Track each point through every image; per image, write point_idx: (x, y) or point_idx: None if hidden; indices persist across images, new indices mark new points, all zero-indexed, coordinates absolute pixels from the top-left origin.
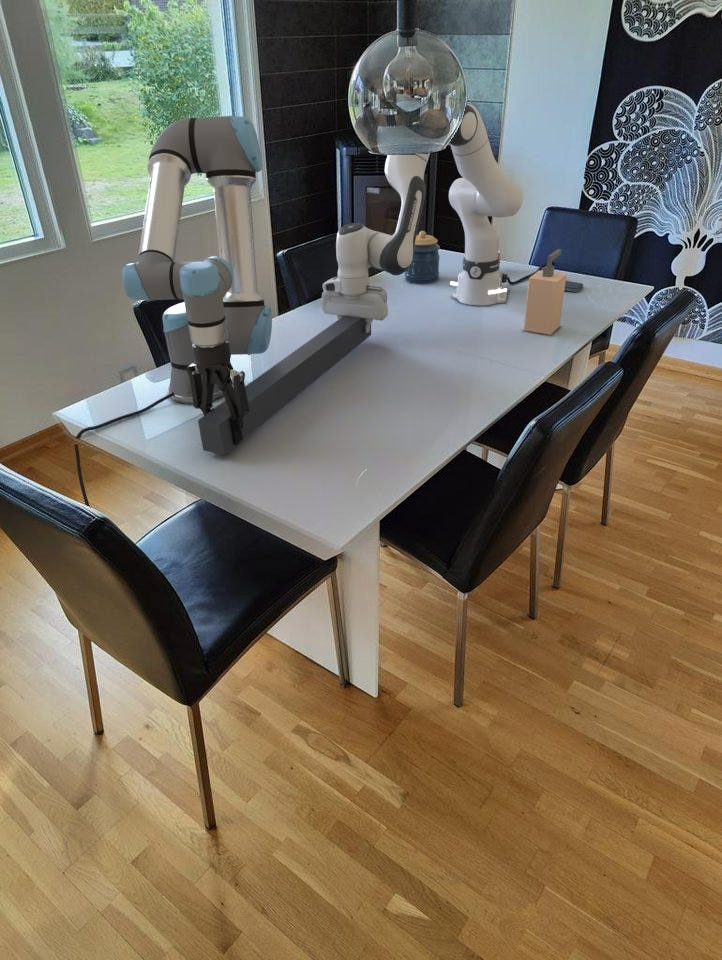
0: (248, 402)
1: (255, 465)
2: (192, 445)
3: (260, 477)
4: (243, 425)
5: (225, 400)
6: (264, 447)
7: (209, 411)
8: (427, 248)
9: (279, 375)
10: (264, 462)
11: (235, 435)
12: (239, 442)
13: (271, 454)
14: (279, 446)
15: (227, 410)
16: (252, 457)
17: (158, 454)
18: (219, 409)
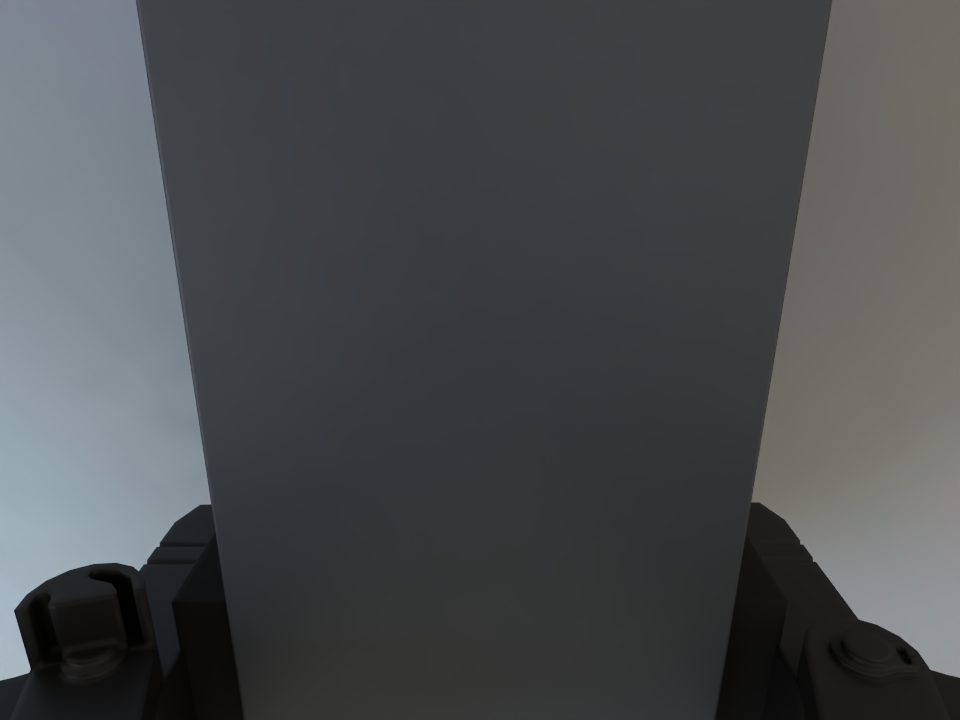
0: (798, 153)
1: (849, 531)
2: (139, 463)
3: (953, 643)
4: (792, 531)
5: (180, 278)
6: (805, 251)
7: (207, 699)
8: None
9: None
10: (907, 470)
11: None
12: None
13: (923, 338)
14: (953, 175)
15: (530, 628)
16: (769, 441)
17: (11, 657)
18: (358, 649)
